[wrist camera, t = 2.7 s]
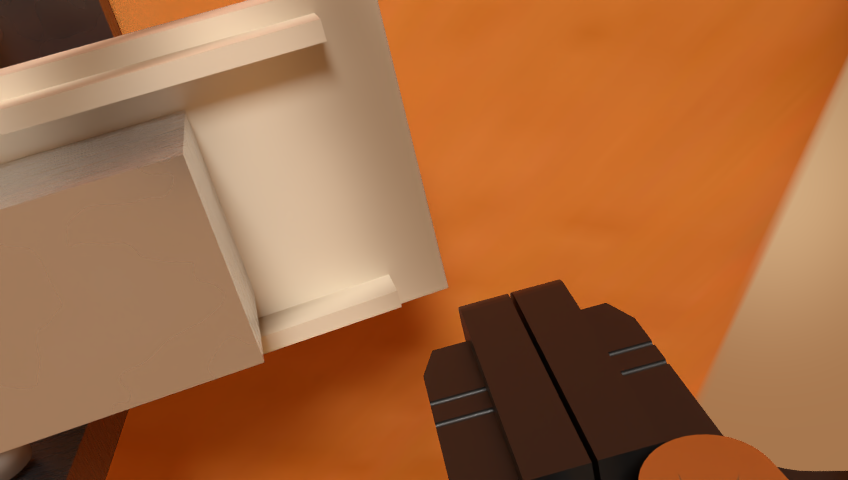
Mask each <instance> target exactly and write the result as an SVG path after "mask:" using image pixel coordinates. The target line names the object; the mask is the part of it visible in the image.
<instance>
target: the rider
mask: <svg viewBox="0 0 848 480" xmlns="http://www.w3.org/2000/svg"><path fill="white" fill-rule="evenodd" d="M261 363H264V355H263V349H262V342H261V335H260V329H259V322H258V315H257V309H256V302H255V295H254V290H253V287H252V285H251V282H250V280H249V277H248V274H247V272H246V269H245V266H244V264H243V261H242V259H241V256H240V253H239V251H238V248H237V245H236V243H235V240H234V238H233V235H232V232H231V230H230V227H229V224H228V222H227V219H226V217H225V214H224V211H223V209H222V206H221V203H220V201H219V198H218V196H217V193H216V190H215V188H214V185H213V182H212V180H211V177H210V175H209V172H208V169H207V167H206V164H205V161H204V159H203V156H202V154H201V151H200V148H199V146H198V143H197V140H196V138H195V135H194V133H193V130H192V127H191V125H190V122H189V119H188V117H187V114H186V112H185V110H183V111H180V112H176V113H173V114H170V115H166V116H163V117H159V118H156V119H152V120H149V121H146V122H142V123H139V124H135V125H132V126H129V127H125V128H122V129H118V130H115V131H112V132H108V133H105V134H101V135H98V136H95V137H91V138H88V139H84V140H81V141H78V142H74V143H71V144H67V145H64V146H60V147H57V148H54V149H50V150H47V151H43V152H40V153H37V154H33V155H30V156H26V157H23V158H20V159H16V160H13V161H9V162H6V163H3V164H0V453H2V452H5V451H8V450H11V449H14V448H17V447H20V446H23V445H26V444H29V443H32V442H34V441H37V440H40V439H43V438H46V437H49V436H52V435H55V434H58V433H61V432H63V431H66V430H69V429H72V428H75V427H78V426H81V425H84V424H87V423H90V422H93V421H95V420H98V419H101V418H104V417H107V416H110V415H113V414H116V413H119V412H122V411H124V410H127V409H130V408H133V407H136V406H139V405H142V404H145V403H148V402H151V401H154V400H156V399H159V398H162V397H165V396H168V395H171V394H174V393H177V392H180V391H183V390H185V389H188V388H191V387H194V386H197V385H200V384H203V383H206V382H209V381H212V380H215V379H217V378H220V377H223V376H226V375H229V374H232V373H235V372H238V371H241V370H244V369H246V368H249V367H252V366H255V365H258V364H261Z"/></svg>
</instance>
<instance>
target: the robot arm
mask: <svg viewBox="0 0 848 480" xmlns="http://www.w3.org/2000/svg"><path fill="white" fill-rule="evenodd" d="M459 314H460V319H461V323H462V327H463V331H464V336H465V340H466V342H462V343H459V344H455V345H451V346H448V347H444V348H440V349H437V350H433V351H432V354H431V356H430V359H429V362H428V365H427V368H426V371H425V373H424V376H423V377H424V381H425V385H426V389H427V393H428V397H429V401H430V405H431V409H432V413H433V417H434V421H435V425H436V429H437V433H438V437H439V441H440V445H441V449H442V453H443V457H444V461H445V465H446V469H447V473H448V478H449V480H848V471H813V472H812V471H797V470H790V469H784V468H780V467H776V466H775V465H774V463H772V461H771V460H770V459H768V457H766V456H765V455H764V454H763V453H761V452H760V451H759V450H757V449H756V448H754V447H753V446H750V445H748V444H746V443H744V442H742V441H739V440H736V439H733V438H729V437H725V436H723V435H722V434H721V432H720V431H719V430H718V428H717V427H716V426H715V425H714V423H713V422H712V420H711V419H710V418H709V416H708V415H707V414H706V412H705V411H704V410H703V408H702V407H701V406H700V404H699V403H698V402H697V400H696V399H695V398H694V396H693V395H692V394H691V392H690V391H689V390H688V388H687V387H686V386H685V384H684V383H683V382H682V380H681V379H680V378H679V376H678V375H677V374H676V372H675V371H674V370H673V368H672V367H671V366H670V364H667V363H666V360H665V358H664V356H663V355H662V354H661V353H660V351H659V350H658V349H657V347H656V346H655V345H653V344H652V341H651V339H650V338H649V337H648V335H647V334H646V333H645V331H644V330H643V329H642V327H641V326H640V325H639V323H638V322H637V321H636V319H635V318H633V317H632V316H630V315H628V314H626V313H624V312H622V311H620V310H618V309H617V308H615V307H613V306H611V305H609V304H607V303H604V304H600V305H597V306H593V307H589V308H586V309H582V310H580V308H579V306H578V305H577V303H576V302H575V300H574V299H573V297H572V296H571V294H570V292H569V291H568V289H567V288H566V286H565V285H564V283H563V282H562V281H561V280H556V281H552V282H548V283H545V284H541V285H537V286H534V287H530V288H526V289H523V290H519V291H515V292H512V293H511V294H510V297H509V295H508V294H505V295H501V296H498V297H494V298H490V299H487V300H483V301H479V302H476V303H472V304H468V305H465V306H461V307H459Z"/></svg>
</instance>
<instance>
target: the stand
mask: <svg viewBox="0 0 848 480" xmlns="http://www.w3.org/2000/svg"><path fill="white" fill-rule="evenodd" d="M121 35H122V33H121V31H120V28H119V26H118V23H117V21H116V18H115V16H114V14H113V11H112V9H111V6H110V4H109V1H108V0H0V69H2V68H5V67H9V66H12V65H16V64H20V63H23V62H27V61H31V60H34V59H38V58H41V57H45V56H49V55H52V54H56V53H59V52H63V51H67V50H70V49H74V48H78V47H81V46H85V45H88V44H92V43H96V42H99V41H103V40H106V39H110V38H114V37H117V36H121ZM128 410H129V409H127V410H124V411H122V412H119V413H116V414H113V415H110V416H107V417H104V418H101V419H98V420H95V421H93V422H90V423H87V424H84V425H81V426H78V427H75V428H72V429H69V430H66V431H63V432H61V433H58V434H55V435H52V436H49V437H46V438H43V439H40V440H37V441H34V442H32V443H29V444H30V446H31V447H32V451H33V452H32V456H31V459H30V460H29V462H28V463H27V465H26V466H25V467H24V468H23V469H22V470H21V471H20V472H19V473H18V474H16V475H15V476H14V477H12V478H11V479H10V480H105V479H106V476H107V473H108V470H109V467H110V464H111V461H112V458H113V455H114V452H115V449H116V446H117V443H118V440H119V437H120V434H121V431H122V428H123V425H124V422H125V419H126V416H127V413H128Z"/></svg>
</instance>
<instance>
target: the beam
mask: <svg viewBox="0 0 848 480" xmlns="http://www.w3.org/2000/svg"><path fill="white" fill-rule="evenodd" d="M183 110H185V112H186V114H187V117H188V119H189V122H190V125H191V127H192V130H193V133H194V135H195V138H196V140H197V143H198V146H199V148H200V151H201V154H202V156H203V159H204V161H205V164H206V167H207V169H208V172H209V175H210V177H211V180H212V182H213V185H214V188H215V190H216V193H217V196H218V198H219V201H220V203H221V206H222V209H223V211H224V214H225V217H226V219H227V222H228V224H229V227H230V230H231V232H232V235H233V238H234V240H235V243H236V245H237V248H238V251H239V253H240V256H241V259H242V261H243V264H244V266H245V269H246V272H247V274H248V277H249V280H250V282H251V285H252V287H253V290H254V295H255V302H256V309H257V315H258V322H259V329H260V335H261V342H262V349H263V354H266V353H269V352H271V351H274V350H277V349H280V348H283V347H286V346H289V345H292V344H295V343H298V342H301V341H304V340H307V339H309V338H312V337H315V336H318V335H321V334H324V333H327V332H330V331H333V330H336V329H339V328H342V327H344V326H347V325H350V324H353V323H356V322H359V321H362V320H365V319H368V318H371V317H374V316H377V315H379V314H382V313H385V312H388V311H391V310H394V309H397V308H400V307H402V306H401V304H402V303H405V302H408V301H411V300H413V299H416V298H419V297H422V296H425V295H428V294H431V293H434V292H437V291H440V290H443V289H446V288H448V284H447V280H446V276H445V272H444V268H443V264H442V260H441V256H440V252H439V248H438V244H437V240H436V236H435V232H434V228H433V224H432V220H431V215H430V211H429V207H428V203H427V199H426V195H425V191H424V187H423V183H422V179H421V175H420V171H419V167H418V163H417V159H416V155H415V151H414V147H413V142H412V138H411V134H410V130H409V126H408V122H407V118H406V114H405V110H404V106H403V102H402V98H401V94H400V90H399V86H398V82H397V78H396V74H395V70H394V65H393V61H392V57H391V53H390V49H389V45H388V41H387V37H386V33H385V29H384V25H383V21H382V17H381V13H380V9H379V5H378V1H377V0H247V1H244V2H240V3H237V4H233V5H229V6H226V7H222V8H218V9H215V10H211V11H208V12H204V13H200V14H197V15H193V16H190V17H186V18H182V19H179V20H175V21H171V22H168V23H164V24H161V25H157V26H153V27H150V28H146V29H143V30H139V31H135V32H132V33H128V34H124V35H121V36H117V37H114V38H110V39H106V40H103V41H99V42H96V43H92V44H88V45H85V46H81V47H78V48H74V49H70V50H67V51H63V52H59V53H56V54H52V55H49V56H45V57H41V58H38V59H34V60H31V61H27V62H23V63H20V64H16V65H12V66H9V67H5V68H2V69H0V164H3V163H6V162H9V161H13V160H16V159H20V158H23V157H26V156H30V155H33V154H37V153H40V152H43V151H47V150H50V149H54V148H57V147H60V146H64V145H67V144H71V143H74V142H78V141H81V140H84V139H88V138H91V137H95V136H98V135H101V134H105V133H108V132H112V131H115V130H118V129H122V128H125V127H129V126H132V125H135V124H139V123H142V122H146V121H149V120H152V119H156V118H159V117H163V116H166V115H170V114H173V113H176V112H180V111H183ZM32 452H33V451H32V447H31V446H30V444H26V445H23V446H20V447H17V448H14V449H11V450H8V451H5V452H2V453H0V480H10V479H11V478H12V477H14V476H15V475H16V474H18V473H19V472H20V471H21V470H22V469H23V468H24V467H25V466H26V465H27V463H28V462H29V460H30V459H31V456H32Z"/></svg>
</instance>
